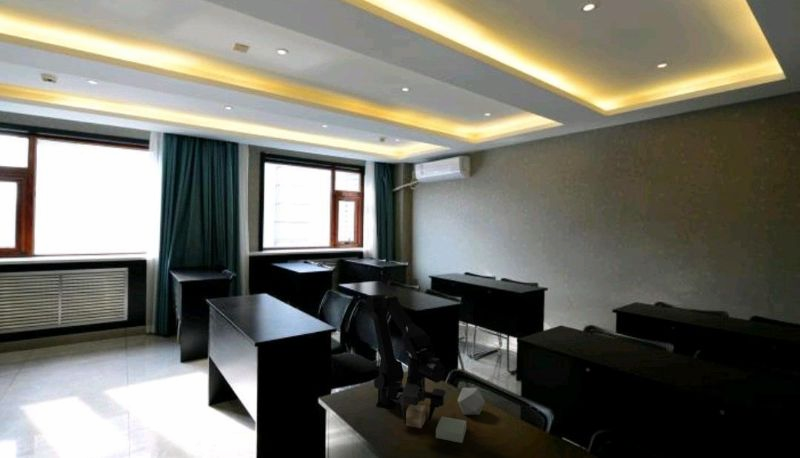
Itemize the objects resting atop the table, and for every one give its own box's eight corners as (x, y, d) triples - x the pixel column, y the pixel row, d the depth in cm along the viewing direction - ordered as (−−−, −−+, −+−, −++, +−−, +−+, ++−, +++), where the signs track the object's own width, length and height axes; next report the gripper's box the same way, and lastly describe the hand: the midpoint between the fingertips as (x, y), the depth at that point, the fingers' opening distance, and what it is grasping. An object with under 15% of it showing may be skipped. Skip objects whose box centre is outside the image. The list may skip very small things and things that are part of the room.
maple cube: (406, 425, 120) (406, 410, 120) (410, 418, 125) (410, 403, 125) (421, 428, 119) (421, 412, 119) (425, 420, 123) (425, 405, 123)
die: (478, 424, 123) (492, 396, 126) (454, 408, 124) (468, 380, 127) (472, 420, 131) (486, 394, 134) (450, 405, 132) (464, 379, 135)
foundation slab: (435, 438, 114) (435, 429, 114) (441, 425, 121) (441, 416, 121) (462, 444, 111) (462, 434, 111) (466, 430, 119) (466, 420, 119)
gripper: (380, 377, 117) (379, 426, 117) (439, 386, 111) (438, 438, 111) (392, 364, 127) (391, 410, 128) (447, 372, 122) (446, 420, 122)
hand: (415, 419), depth 122 cm, fingers open, 9 cm apart
